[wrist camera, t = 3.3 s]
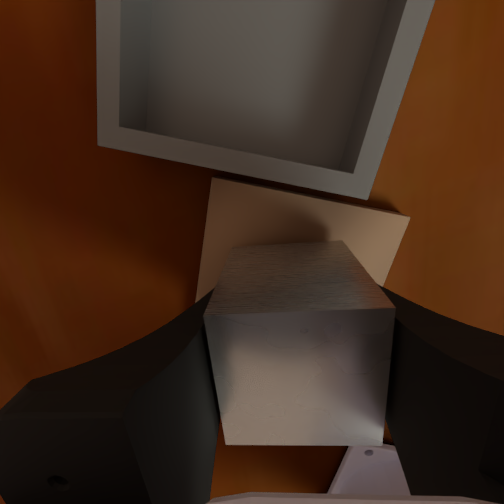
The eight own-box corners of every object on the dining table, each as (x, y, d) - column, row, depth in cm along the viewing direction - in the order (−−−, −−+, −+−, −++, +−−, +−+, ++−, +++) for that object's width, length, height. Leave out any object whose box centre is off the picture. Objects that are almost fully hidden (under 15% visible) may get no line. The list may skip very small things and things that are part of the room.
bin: (438, -110, 8) (509, -219, 6) (347, 189, 11) (367, 199, 9) (145, -169, 8) (92, -303, 6) (135, 146, 11) (97, 145, 9)
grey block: (342, 240, 11) (395, 307, 6) (340, 335, 12) (381, 448, 8) (231, 247, 11) (203, 315, 7) (243, 338, 13) (226, 447, 8)
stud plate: (401, 213, 12) (448, 235, 8) (344, 360, 14) (363, 418, 11) (215, 175, 12) (195, 184, 8) (194, 330, 14) (173, 379, 11)
